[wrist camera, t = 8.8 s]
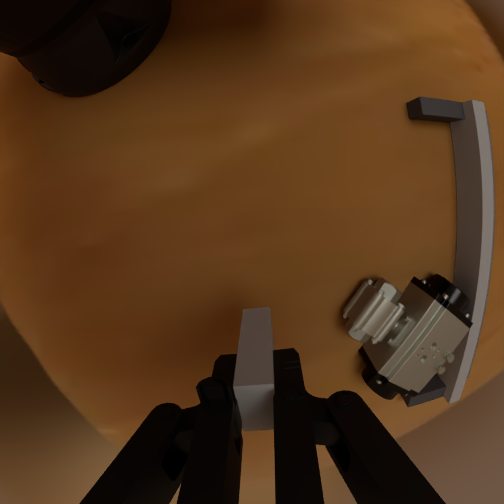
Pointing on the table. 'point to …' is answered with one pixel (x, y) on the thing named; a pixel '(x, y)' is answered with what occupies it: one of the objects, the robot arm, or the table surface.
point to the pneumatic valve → (406, 332)
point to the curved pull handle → (465, 230)
